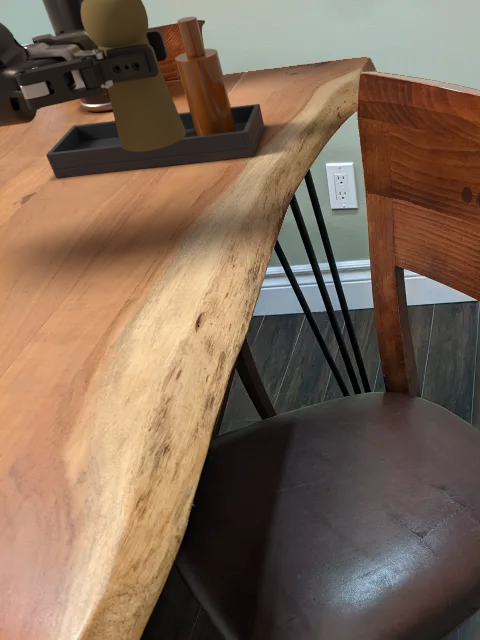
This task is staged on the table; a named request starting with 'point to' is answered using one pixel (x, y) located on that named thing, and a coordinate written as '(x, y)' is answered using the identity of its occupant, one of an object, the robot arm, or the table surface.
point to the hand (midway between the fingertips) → (159, 52)
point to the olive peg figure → (135, 95)
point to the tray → (108, 156)
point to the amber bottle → (203, 83)
